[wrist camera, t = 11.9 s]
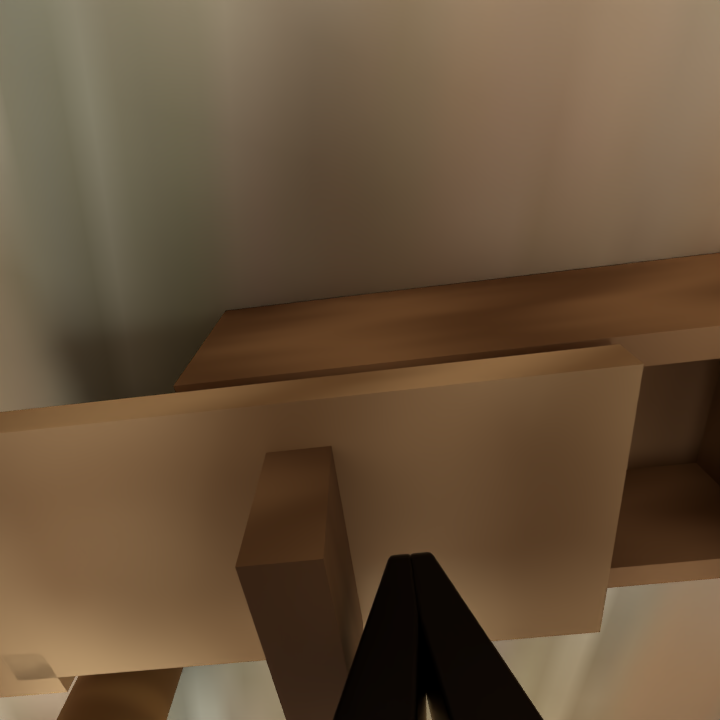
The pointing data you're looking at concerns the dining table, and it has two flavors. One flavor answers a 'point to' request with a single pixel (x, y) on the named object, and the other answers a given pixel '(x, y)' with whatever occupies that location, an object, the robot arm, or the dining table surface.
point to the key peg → (122, 695)
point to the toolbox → (529, 336)
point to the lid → (307, 516)
